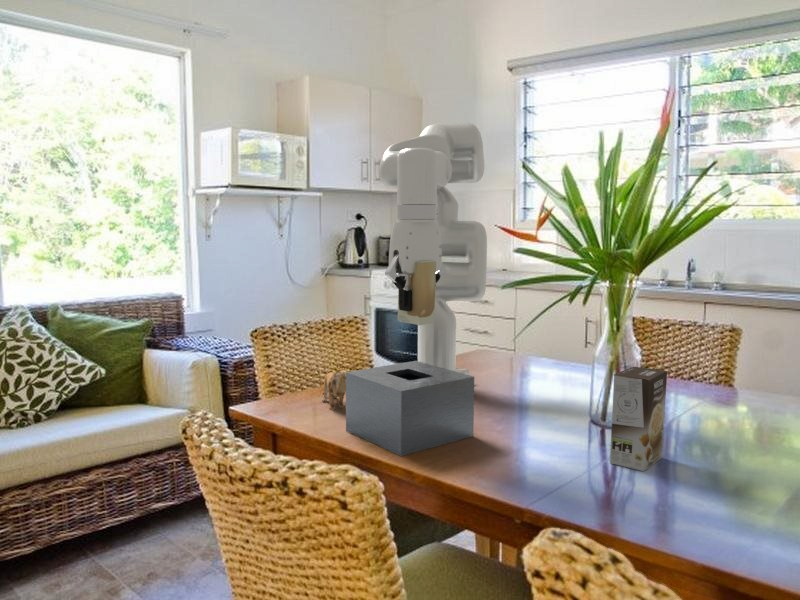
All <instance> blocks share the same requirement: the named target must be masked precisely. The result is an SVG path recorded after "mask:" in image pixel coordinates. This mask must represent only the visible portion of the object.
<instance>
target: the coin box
mask: <svg viewBox="0 0 800 600" xmlns="http://www.w3.org/2000/svg"><path fill="white" fill-rule="evenodd" d="M474 409H475V376H473V375H470V374H469V375H466V374H463V373H459V372H455V371H452V370H448V369H444V368H441V367H437V366H433V365H430V364H426V363H422V362H419V361H418V360H413V361H407V362H400V363H393V364H389V365H388V364H387V365H381V366H377V367H370V368H364V369H359V370H358V369H357V370H352V371H347V372H346V392H345V431H346V432H349V433H350V434H353V435H355V436H356V437H360V438H362V439H364V440H365V441H367V442H369V443H372V444H374V445H376V446H378V447H381V448H382V449H384V450H387V451H389V452H391V453H393V454H396V455H398V456H400V457H402V456H406V455H410V454H414V453H417V452H422V451H425V450H428V449H432V448H436V447H440V446H442V445H447V444H451V443H454V442H455V443H456V442H458V441H461V440H462V441H463V440H465V439H468V438H473V437H474V426H475V425H474V419H475V418H474V417H475V414H474V413H475V410H474Z"/></svg>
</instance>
